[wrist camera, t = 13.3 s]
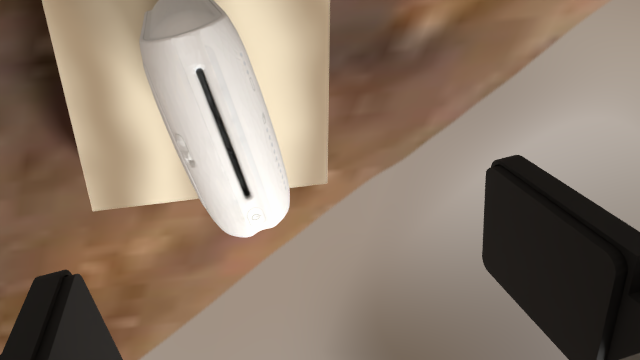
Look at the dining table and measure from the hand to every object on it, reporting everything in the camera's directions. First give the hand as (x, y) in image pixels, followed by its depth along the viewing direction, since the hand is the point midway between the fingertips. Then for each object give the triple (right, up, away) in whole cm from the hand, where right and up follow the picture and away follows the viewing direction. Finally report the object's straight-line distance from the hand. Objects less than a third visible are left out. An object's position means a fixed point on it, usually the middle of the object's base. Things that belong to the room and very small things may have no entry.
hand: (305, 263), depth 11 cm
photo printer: (-7, +8, +18) cm, 21 cm away
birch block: (-8, +11, +24) cm, 27 cm away
